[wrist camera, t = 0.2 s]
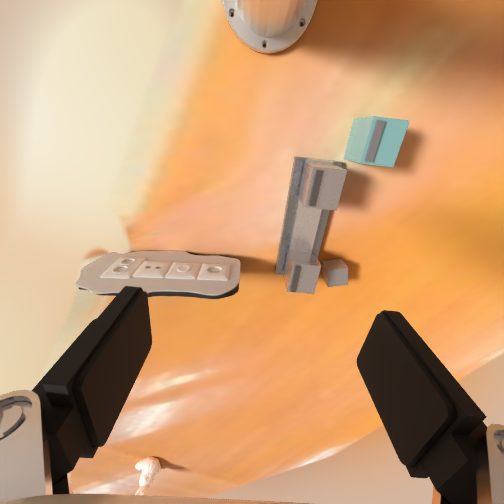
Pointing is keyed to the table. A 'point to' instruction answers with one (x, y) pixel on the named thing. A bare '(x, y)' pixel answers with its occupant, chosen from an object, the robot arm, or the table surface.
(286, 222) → the board
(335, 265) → the block
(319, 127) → the table surface
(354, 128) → the module
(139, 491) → the white creature statuette
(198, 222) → the table surface
